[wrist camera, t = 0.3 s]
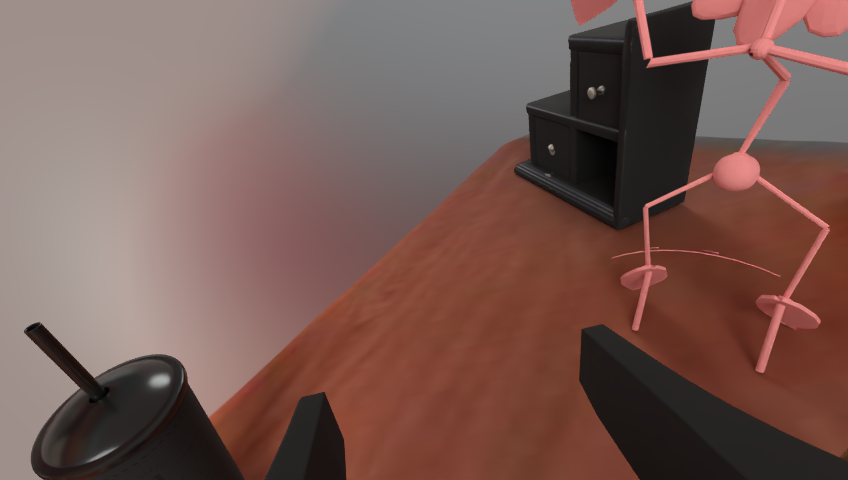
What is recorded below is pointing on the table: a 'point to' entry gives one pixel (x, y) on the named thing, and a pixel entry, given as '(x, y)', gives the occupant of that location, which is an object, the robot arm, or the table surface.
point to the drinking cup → (128, 424)
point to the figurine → (754, 30)
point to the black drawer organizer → (622, 119)
